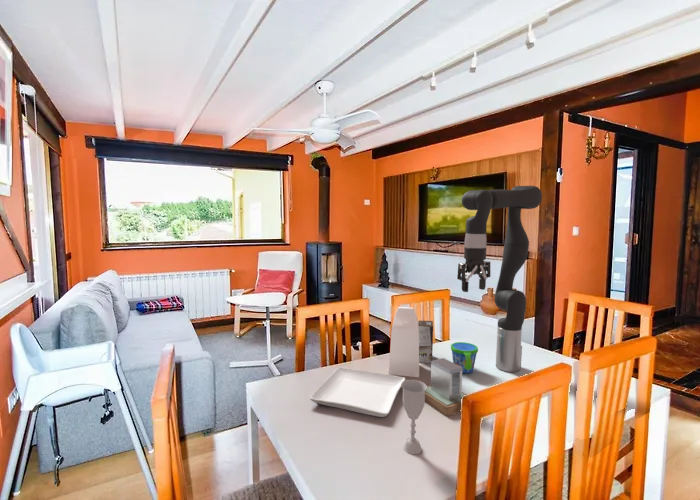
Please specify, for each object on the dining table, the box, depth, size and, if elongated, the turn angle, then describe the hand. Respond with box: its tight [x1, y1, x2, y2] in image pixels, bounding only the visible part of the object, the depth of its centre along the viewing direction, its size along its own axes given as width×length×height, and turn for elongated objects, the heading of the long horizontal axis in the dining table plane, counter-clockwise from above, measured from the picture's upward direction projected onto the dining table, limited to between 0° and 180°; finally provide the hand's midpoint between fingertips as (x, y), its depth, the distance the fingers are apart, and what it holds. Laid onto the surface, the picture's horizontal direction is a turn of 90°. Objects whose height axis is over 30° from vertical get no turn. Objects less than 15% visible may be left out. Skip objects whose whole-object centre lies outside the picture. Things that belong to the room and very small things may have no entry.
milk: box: [388, 306, 420, 378], centre depth 154 cm, size 12×12×26 cm
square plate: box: [309, 366, 406, 418], centre depth 134 cm, size 27×27×4 cm
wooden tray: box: [425, 385, 468, 418], centre depth 129 cm, size 12×14×3 cm
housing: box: [430, 357, 463, 400], centre depth 128 cm, size 6×9×10 cm, turn 29°
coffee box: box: [418, 320, 434, 364], centre depth 166 cm, size 9×6×16 cm
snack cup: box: [450, 341, 479, 374], centre depth 155 cm, size 16×10×10 cm
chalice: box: [401, 379, 428, 455], centre depth 103 cm, size 7×7×18 cm
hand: (473, 290), depth 138 cm, fingers open, 8 cm apart
